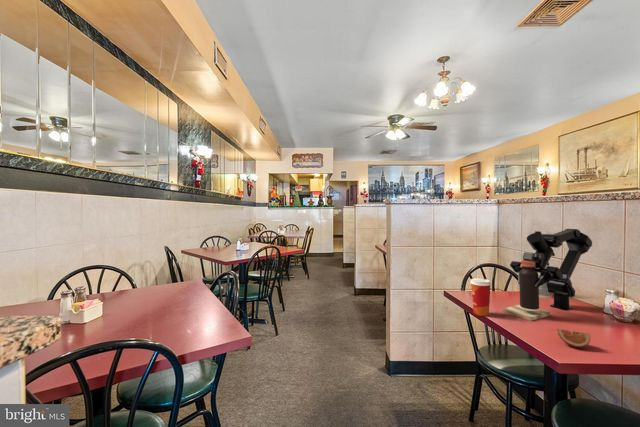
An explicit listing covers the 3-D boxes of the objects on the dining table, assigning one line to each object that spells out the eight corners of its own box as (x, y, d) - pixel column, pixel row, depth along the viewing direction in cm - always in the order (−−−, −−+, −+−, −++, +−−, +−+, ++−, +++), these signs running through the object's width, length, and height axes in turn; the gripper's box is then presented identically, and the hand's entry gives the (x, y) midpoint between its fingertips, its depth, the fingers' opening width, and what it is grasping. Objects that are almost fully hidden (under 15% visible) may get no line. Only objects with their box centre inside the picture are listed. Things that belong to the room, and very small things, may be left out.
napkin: (520, 307, 136) (520, 304, 136) (549, 315, 126) (549, 311, 126) (501, 312, 130) (501, 308, 130) (530, 321, 119) (530, 317, 119)
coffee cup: (474, 309, 134) (473, 277, 134) (494, 313, 129) (493, 279, 129) (467, 314, 129) (467, 280, 129) (488, 318, 123) (487, 283, 123)
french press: (525, 292, 160) (524, 247, 160) (547, 292, 159) (547, 247, 159) (536, 297, 151) (535, 249, 150) (560, 298, 149) (560, 249, 149)
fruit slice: (558, 346, 97) (558, 331, 97) (556, 339, 103) (556, 325, 103) (592, 352, 92) (591, 337, 92) (588, 344, 98) (588, 330, 98)
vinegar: (516, 304, 129) (515, 259, 129) (533, 304, 128) (531, 259, 128) (525, 309, 122) (524, 262, 122) (543, 310, 121) (541, 262, 121)
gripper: (511, 243, 135) (496, 270, 130) (558, 247, 118) (543, 278, 113) (522, 258, 138) (508, 285, 134) (569, 264, 121) (555, 295, 117)
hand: (527, 285), depth 124 cm, fingers closed on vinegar, 6 cm apart
